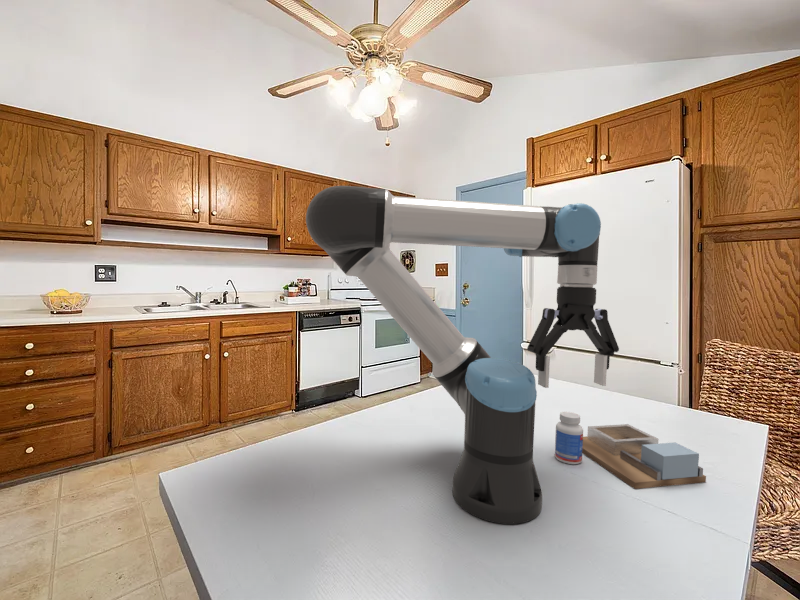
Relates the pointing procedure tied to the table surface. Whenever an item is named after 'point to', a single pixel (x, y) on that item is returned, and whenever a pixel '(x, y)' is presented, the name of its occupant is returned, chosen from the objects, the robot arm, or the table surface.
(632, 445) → the socket
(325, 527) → the table surface
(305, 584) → the table surface
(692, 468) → the block
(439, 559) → the table surface
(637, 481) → the board
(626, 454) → the rails
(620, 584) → the table surface
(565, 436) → the pill bottle
